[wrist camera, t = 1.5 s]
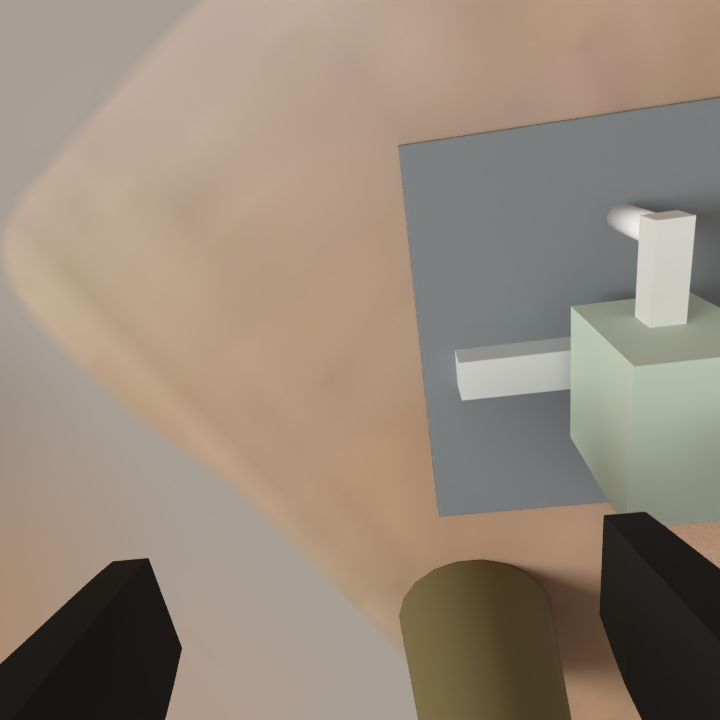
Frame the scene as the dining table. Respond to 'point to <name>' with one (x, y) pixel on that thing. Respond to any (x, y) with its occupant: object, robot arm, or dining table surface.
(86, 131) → the dining table surface
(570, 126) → the plate
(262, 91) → the dining table surface
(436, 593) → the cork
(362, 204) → the dining table surface
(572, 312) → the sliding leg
